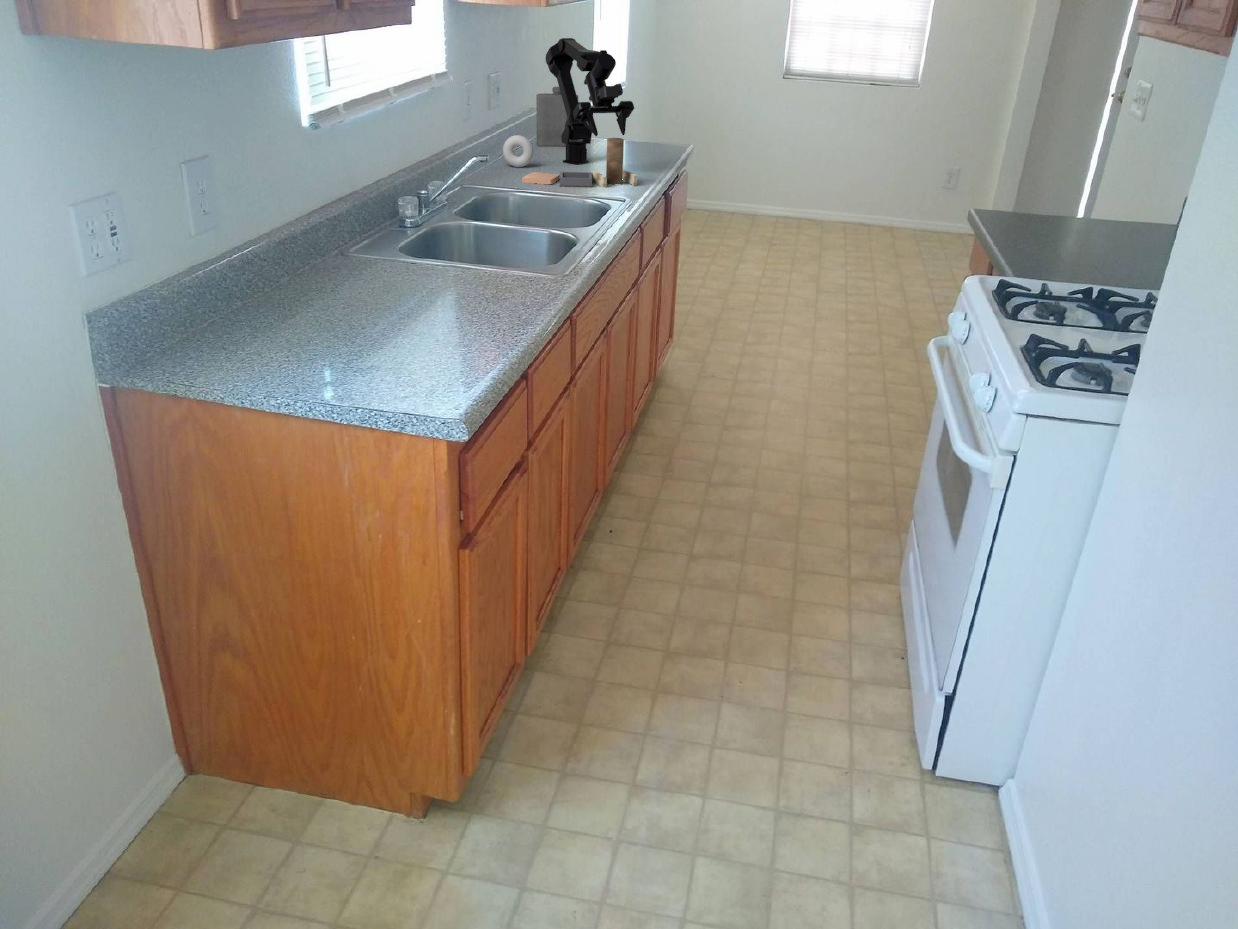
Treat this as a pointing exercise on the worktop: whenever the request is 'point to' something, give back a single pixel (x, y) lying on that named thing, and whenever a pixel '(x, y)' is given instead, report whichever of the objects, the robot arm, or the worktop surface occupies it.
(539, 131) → the flask
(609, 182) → the walnut post
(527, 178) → the pad
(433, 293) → the worktop surface
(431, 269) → the worktop surface
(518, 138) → the donut
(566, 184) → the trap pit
